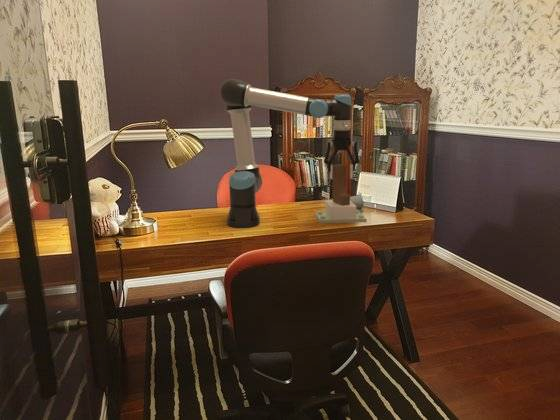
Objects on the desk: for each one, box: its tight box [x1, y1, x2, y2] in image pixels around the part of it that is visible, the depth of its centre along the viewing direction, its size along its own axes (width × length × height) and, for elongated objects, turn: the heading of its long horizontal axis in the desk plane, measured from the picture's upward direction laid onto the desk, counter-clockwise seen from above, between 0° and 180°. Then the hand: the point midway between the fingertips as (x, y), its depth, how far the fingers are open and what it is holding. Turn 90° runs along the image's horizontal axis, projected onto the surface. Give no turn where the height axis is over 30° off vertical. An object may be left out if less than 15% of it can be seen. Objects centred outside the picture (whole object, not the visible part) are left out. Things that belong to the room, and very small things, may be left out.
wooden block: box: [332, 163, 351, 205], centre depth 209 cm, size 9×4×18 cm, turn 22°
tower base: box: [314, 199, 368, 224], centre depth 212 cm, size 22×14×8 cm, turn 94°
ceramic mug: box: [350, 194, 365, 214], centre depth 226 cm, size 11×8×8 cm
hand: (341, 178), depth 208 cm, fingers open, 9 cm apart
